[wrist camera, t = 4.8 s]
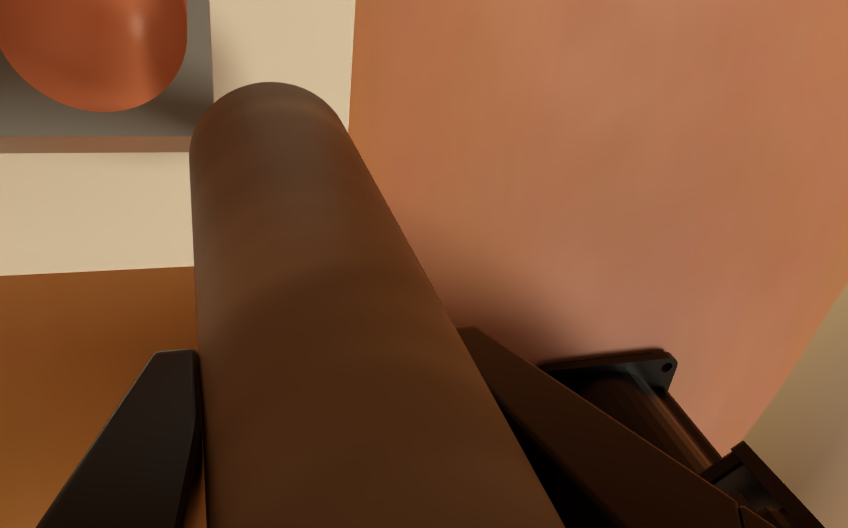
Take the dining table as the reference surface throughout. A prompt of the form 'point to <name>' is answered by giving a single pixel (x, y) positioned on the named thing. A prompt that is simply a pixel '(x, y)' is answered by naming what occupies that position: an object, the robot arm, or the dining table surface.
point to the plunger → (95, 48)
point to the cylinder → (331, 342)
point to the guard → (150, 139)
